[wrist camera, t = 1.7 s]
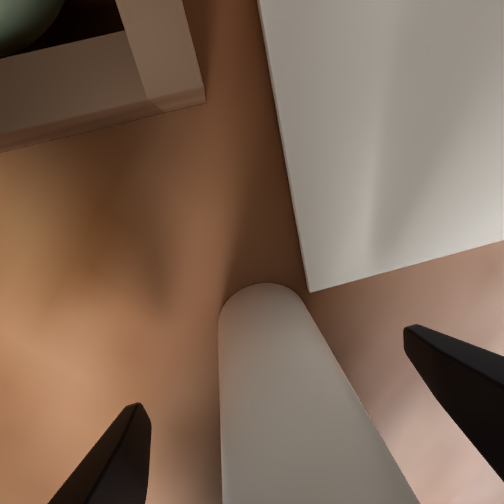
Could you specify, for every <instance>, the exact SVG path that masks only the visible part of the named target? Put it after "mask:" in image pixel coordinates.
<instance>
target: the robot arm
mask: <svg viewBox="0 0 504 504" xmlns="http://www.w3.org/2000/svg"><path fill="white" fill-rule="evenodd" d="M403 339H404V350H405V353H406V355H407V356H408V358H409V359H410V361H411V362H412V364H413V365H414V367H415V368H416V370H417V371H418V373H419V374H420V376H421V377H422V379H423V380H424V382H425V383H426V385H427V386H428V388H429V389H430V391H431V392H432V394H433V395H434V396H435V398H436V399H437V401H438V402H439V403H440V404H441V406H442V407H443V408H444V409H445V411H446V412H447V413H448V414H449V416H450V417H451V418H452V419H453V420H454V422H455V423H456V424H457V425H458V427H459V428H460V429H461V430H462V431H463V433H464V434H465V435H466V436H467V438H468V439H469V440H470V441H471V442H472V444H473V445H474V446H475V447H476V449H477V450H478V451H479V452H480V453H481V455H482V456H483V457H484V458H485V460H486V461H487V462H488V463H489V465H490V466H491V467H492V468H493V469H494V471H495V472H496V473H497V474H498V476H499V477H500V478H501V479H502V480H503V482H504V356H501V355H498V354H496V353H493V352H490V351H488V350H485V349H482V348H480V347H477V346H474V345H472V344H469V343H467V342H464V341H461V340H459V339H456V338H453V337H451V336H448V335H445V334H443V333H440V332H437V331H435V330H432V329H429V328H427V327H424V326H421V325H418V324H414V325H411V326H407V327H405V328H404V330H403ZM151 428H152V427H151V421H150V418H149V416H148V415H147V413H146V411H145V409H144V407H143V405H142V404H141V403H134V404H131V405H128V406H126V407H125V408H124V409H123V410H122V411H121V413H120V414H119V415H118V416H117V418H116V419H115V420H114V421H113V423H112V424H111V425H110V426H109V428H108V429H107V430H106V431H105V433H104V434H103V435H102V436H101V438H100V439H99V440H98V441H97V443H96V444H95V445H94V446H93V448H92V449H91V450H90V451H89V453H88V454H87V455H86V456H85V458H84V459H83V460H82V461H81V463H80V464H79V465H78V466H77V468H76V469H75V470H74V471H73V473H72V474H71V475H70V476H69V478H68V479H67V480H66V481H65V483H64V484H63V485H62V486H61V488H60V489H59V490H58V491H57V493H56V494H55V495H54V496H53V498H52V499H51V500H50V501H49V503H48V504H145V501H146V495H147V487H148V477H149V461H150V445H151Z"/></svg>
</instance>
